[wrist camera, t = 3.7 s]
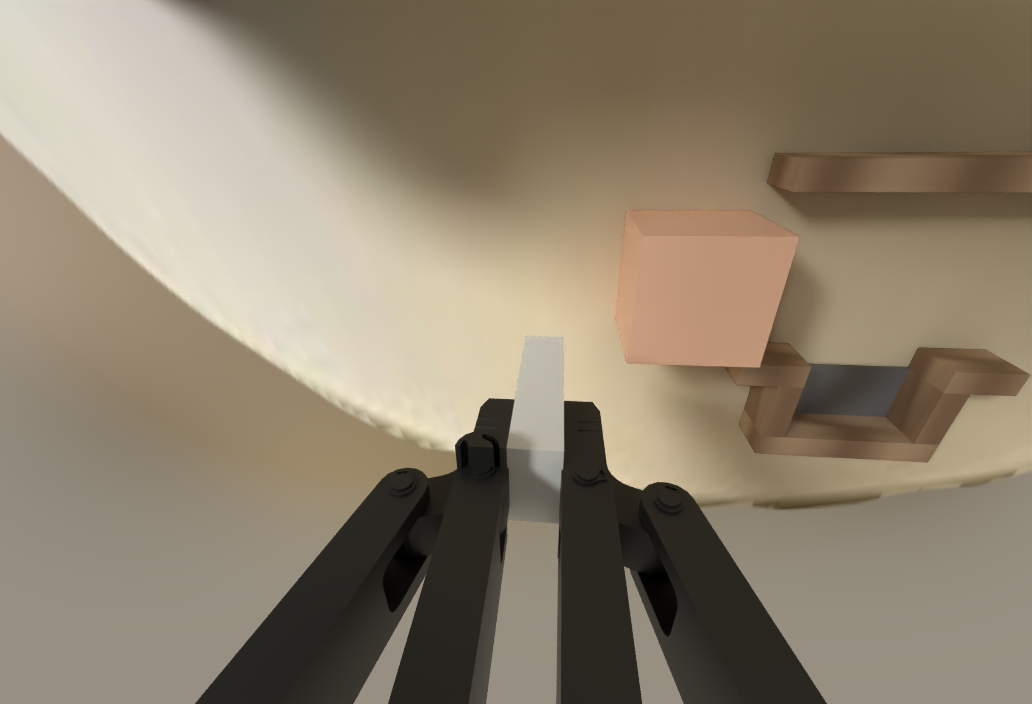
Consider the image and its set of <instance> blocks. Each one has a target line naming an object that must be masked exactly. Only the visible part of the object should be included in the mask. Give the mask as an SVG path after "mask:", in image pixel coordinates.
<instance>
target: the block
mask: <svg viewBox="0 0 1032 704" xmlns="http://www.w3.org/2000/svg"><path fill="white" fill-rule="evenodd" d="M799 238H800V237H799V236H798V235H796V234H794V233H792V232H790V231H788V230H786V229H785V228H783V227H781V226H779V225H777V224H775V223H773V222H771V221H770V220H768V219H766V218H764V217H762V216H760V215H758V214H756V213H755V212H753V211H751V210H626V219H625V229H624V239H623V248H622V258H621V267H620V277H619V286H618V296H617V305H616V315H615V320H616V324H617V328H618V331H619V335H620V339H621V343H622V347H623V351H624V355H625V359H626V363H629V364H661V365H693V366H725V367H757V368H760V365H761V361H762V358H763V355H764V352H765V348H766V345H767V342H768V339H769V335H770V332H771V329H772V326H773V322H774V319H775V316H776V313H777V309H778V306H779V303H780V300H781V296H782V293H783V290H784V287H785V283H786V280H787V277H788V274H789V270H790V267H791V264H792V261H793V258H794V254H795V251H796V248H797V245H798V241H799Z"/></svg>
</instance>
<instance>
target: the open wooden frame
mask: <svg viewBox="0 0 1032 704" xmlns="http://www.w3.org/2000/svg"><path fill="white" fill-rule="evenodd" d="M767 183H769V184H772V185H774V186H777V187H780V188H783V189H786V190H788V191H791V192H1032V152H918V153H775V156H774V159H773V163H772V167H771V171H770V175H769V179H768V182H767ZM725 368H726V369H727V371H728V373H729V374H730V376H731V377H732V379H733V380H734V382H735V384H736V385H746V386H751V389H750V392H749V396H748V399H747V402H746V405H745V408H744V412H743V415H742V418H741V421H740V424H739V426H740V428H741V429H742V431H743V433H744V435H745V436H746V438H747V440H748V442H749V443H750V445H751V447H752V449H753V451H754V452H755V453H760V454H779V455H798V456H818V457H837V458H856V459H875V460H894V461H913V462H928V461H929V460H930V458H931V456H932V455H933V453H934V452H935V450H936V448H937V447H938V445H939V444H940V442H941V440H942V439H943V437H944V436H945V434H946V432H947V431H948V429H949V428H950V426H951V424H952V423H953V421H954V420H955V418H956V416H957V415H958V413H959V412H960V410H961V408H962V407H963V405H964V404H965V402H966V400H967V399H968V397H969V395H970V394H976V395H1001V396H1016V395H1017V394H1018V392H1019V391H1020V389H1021V388H1022V386H1023V385H1024V384H1025V382H1026V381H1027V379H1028V378H1029V376H1030V374H1028V373H1026V372H1025V371H1023V370H1021V369H1019V368H1018V367H1016V366H1014V365H1012V364H1010V363H1009V362H1007V361H1005V360H1003V359H1002V358H1000V357H998V356H996V355H995V354H993V353H991V352H989V351H987V350H983V349H951V348H918V349H917V351H916V353H915V355H914V357H913V359H912V361H911V363H910V365H909V367H886V366H857V365H828V364H808V363H807V362H806V361H805V360H804V359H803V358H802V357H801V356H800V355H799V354H798V353H797V352H796V351H795V350H794V349H793V348H792V346H791V345H790V344H788V343H767V345H766V348H765V352H764V355H763V358H762V361H761V365H760V368H757V367H725Z"/></svg>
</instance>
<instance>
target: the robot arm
mask: <svg viewBox="0 0 1032 704" xmlns="http://www.w3.org/2000/svg"><path fill="white" fill-rule="evenodd" d="M455 450H456V460H457V470H455V471H453V472H451V473H449V474H446V475H443V476H438V477H433V478H427V477H426V475H425V474H424V473H423V472H422V471H420V470H418V469H414V468H403V469H398V470H395V471H394V472H391V473H389V474H387V475H386V476H385V477H384V478H383V479H382V480H381V481H380V482H379V483H378V484H377V486H376V487H375V488H374V489H373V490H372V492H371V493H370V494H369V495H368V496H367V498H366V499H365V500H364V501H363V502H362V504H361V505H360V506H359V507H358V509H357V510H356V511H355V512H354V513H353V514H352V516H351V517H350V518H349V519H348V521H347V522H346V523H345V524H344V525H343V527H342V528H341V529H340V530H339V531H338V533H337V534H336V535H335V536H334V537H333V539H332V540H331V541H330V542H329V543H328V544H327V546H326V547H325V548H324V549H323V550H322V552H321V553H320V554H319V555H318V557H317V558H316V559H315V560H314V561H313V563H312V564H311V565H310V566H309V567H308V569H307V570H306V571H305V572H304V573H303V575H302V576H301V577H300V578H299V579H298V581H297V582H296V583H295V584H294V585H293V587H292V588H291V589H290V590H289V592H288V593H287V594H286V595H285V596H284V597H283V599H282V600H281V601H280V602H279V603H278V605H277V606H276V607H275V608H274V609H273V611H272V612H271V613H270V614H269V615H268V617H267V618H266V619H265V620H264V621H263V623H262V624H261V625H260V626H259V628H258V629H257V630H256V631H255V632H254V634H253V635H252V636H251V637H250V638H249V639H248V641H247V642H246V643H245V644H244V646H243V647H242V648H241V649H240V650H239V651H238V653H237V654H236V655H235V656H234V657H233V659H232V660H231V661H230V663H228V665H227V666H226V667H225V668H224V670H223V671H222V672H221V673H220V674H219V675H218V677H217V678H216V679H215V680H214V682H213V683H212V684H211V685H210V686H209V688H208V689H207V690H206V691H205V692H204V694H203V695H202V696H201V697H200V698H199V700H198V701H197V702H196V703H195V704H353V703H354V701H355V700H356V698H357V696H358V694H359V692H360V691H361V689H362V687H363V685H364V683H365V682H366V680H367V678H368V676H369V675H370V673H371V671H372V669H373V668H374V666H375V664H376V662H377V661H378V659H379V657H380V655H381V653H382V652H383V649H384V648H385V646H386V645H387V642H388V641H389V639H390V637H391V636H392V634H393V632H394V630H395V628H396V627H397V625H398V623H399V621H400V620H401V618H402V616H403V614H404V613H405V611H406V609H407V607H408V605H409V604H410V602H411V600H412V598H413V596H414V595H415V593H416V591H417V589H418V588H419V586H420V584H421V582H422V581H423V579H424V577H425V575H426V577H425V580H424V584H423V587H422V591H421V594H420V597H419V601H418V604H417V608H416V611H415V614H414V618H413V621H412V625H411V628H410V631H409V635H408V638H407V642H406V645H405V648H404V652H403V655H402V659H401V662H400V665H399V669H398V672H397V675H396V679H395V682H394V686H393V689H392V692H391V696H390V699H389V703H388V704H486V699H487V691H488V683H489V675H490V667H491V660H492V652H493V644H494V636H495V629H496V628H495V627H496V621H497V613H498V605H499V597H500V590H501V582H502V574H503V566H504V558H505V551H506V543H507V521H508V516H509V520H519V521H532V522H546V523H559V541H558V621H557V697H556V698H557V700H556V701H557V702H556V704H642V700H641V691H640V684H639V677H638V669H637V661H636V654H635V647H634V639H633V632H632V624H631V617H630V609H629V602H628V594H627V586H626V579H625V571H624V566H625V567H627V568H630V572H631V575H632V577H633V579H634V582H635V584H636V587H637V589H638V592H639V594H640V597H641V599H642V602H643V604H644V607H645V609H646V612H647V614H648V617H649V619H650V621H651V624H652V626H653V629H654V631H655V634H656V636H657V638H658V641H659V644H660V646H661V649H662V651H663V653H664V656H665V659H666V661H667V663H668V666H669V668H670V671H671V673H672V676H673V678H674V681H675V683H676V686H677V688H678V691H679V693H680V695H681V698H682V700H683V703H684V704H827V703H826V702H825V700H824V699H823V697H822V696H821V694H820V692H819V691H818V690H817V688H816V686H815V685H814V683H813V682H812V680H811V679H810V677H809V676H808V674H807V672H806V671H805V669H804V668H803V666H802V665H801V663H800V662H799V660H798V659H797V657H796V655H795V654H794V653H793V651H792V649H791V648H790V646H789V645H788V643H787V642H786V640H785V639H784V637H783V636H782V634H781V632H780V631H779V629H778V628H777V626H776V625H775V623H774V622H773V620H772V619H771V617H770V615H769V614H768V613H767V611H766V609H765V608H764V606H763V605H762V603H761V602H760V600H759V599H758V597H757V596H756V594H755V593H754V591H753V590H752V588H751V586H750V585H749V583H748V582H747V580H746V579H745V577H744V575H743V574H742V572H741V571H740V569H739V568H738V566H737V565H736V563H735V562H734V560H733V559H732V557H731V555H730V554H729V552H728V551H727V549H726V548H725V546H724V545H723V543H722V542H721V540H720V539H719V537H718V535H717V534H716V532H715V531H714V529H713V528H712V526H711V525H710V523H709V522H708V520H707V519H706V517H705V516H704V514H703V512H702V511H701V509H700V508H699V506H698V505H697V503H696V502H695V500H694V499H693V497H692V496H691V495H690V494H689V493H688V492H687V491H685V490H684V489H682V488H681V487H679V486H677V485H674V484H670V483H665V482H656V483H653V484H650V485H648V486H647V487H646V488H645V489H644V490H640V489H636V488H633V487H630V486H628V485H625V484H623V483H621V482H620V481H618V480H617V479H616V478H615V477H614V476H613V475H611V473H610V471H609V470H608V467H607V463H606V455H605V448H604V440H603V433H602V424H601V416H600V411H599V410H598V409H597V407H596V406H595V405H594V403H593V402H578V401H564V337H543V336H525V342H524V348H523V354H522V360H521V366H520V372H519V378H518V383H517V389H516V395H515V400H513V399H491V398H489V399H488V400H487V401H486V402H485V403H484V404H483V405H482V406H481V408H480V411H479V415H478V419H477V422H476V427H475V429H474V432H472V433H469V434H466V435H464V436H463V437H462V438H460V439H459V440H458V442H457V443H456V445H455ZM426 573H427V574H426Z"/></svg>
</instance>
